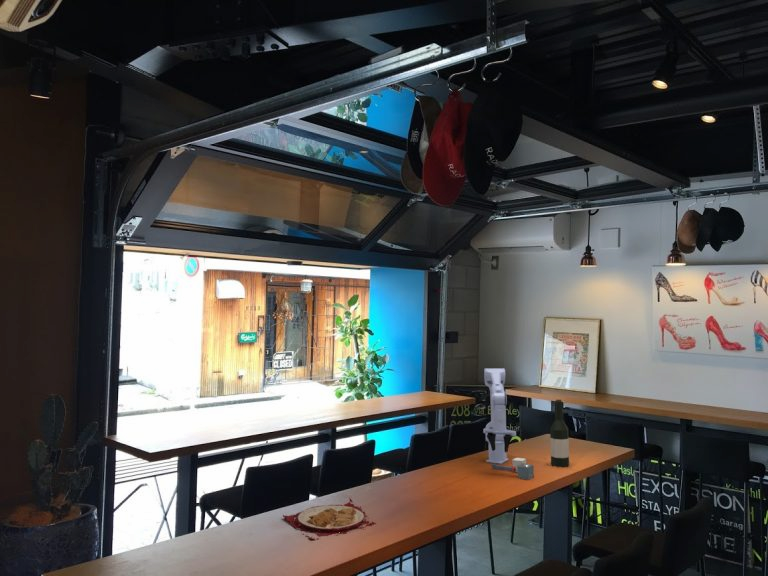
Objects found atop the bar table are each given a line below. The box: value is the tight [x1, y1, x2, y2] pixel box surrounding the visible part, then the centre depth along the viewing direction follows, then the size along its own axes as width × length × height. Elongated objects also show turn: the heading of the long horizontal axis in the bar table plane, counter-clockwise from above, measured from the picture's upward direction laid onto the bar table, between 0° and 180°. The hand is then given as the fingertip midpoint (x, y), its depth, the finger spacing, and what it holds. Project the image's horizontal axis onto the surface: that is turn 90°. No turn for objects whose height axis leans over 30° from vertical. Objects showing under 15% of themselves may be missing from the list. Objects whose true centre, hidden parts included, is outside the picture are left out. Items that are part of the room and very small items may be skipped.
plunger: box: [510, 465, 518, 473], centre depth 258 cm, size 3×4×3 cm, turn 57°
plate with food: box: [282, 497, 377, 541], centre depth 203 cm, size 25×26×4 cm
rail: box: [491, 463, 512, 472], centre depth 267 cm, size 3×18×2 cm, turn 57°
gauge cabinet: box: [517, 463, 535, 481], centre depth 256 cm, size 6×5×5 cm
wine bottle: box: [549, 398, 570, 468], centre depth 277 cm, size 8×8×30 cm
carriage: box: [511, 457, 527, 468], centre depth 265 cm, size 5×4×5 cm
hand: (499, 451), depth 263 cm, fingers open, 5 cm apart
